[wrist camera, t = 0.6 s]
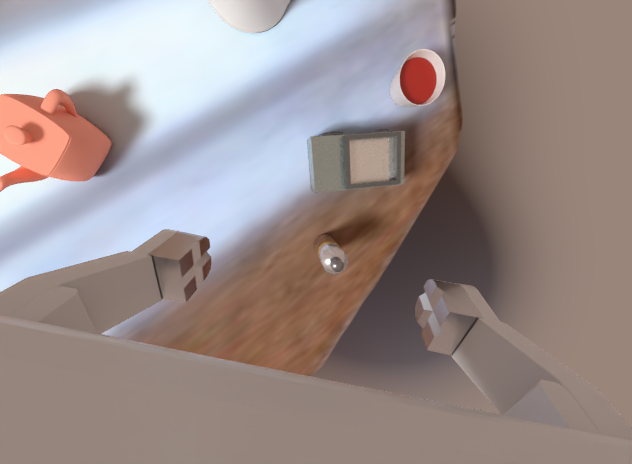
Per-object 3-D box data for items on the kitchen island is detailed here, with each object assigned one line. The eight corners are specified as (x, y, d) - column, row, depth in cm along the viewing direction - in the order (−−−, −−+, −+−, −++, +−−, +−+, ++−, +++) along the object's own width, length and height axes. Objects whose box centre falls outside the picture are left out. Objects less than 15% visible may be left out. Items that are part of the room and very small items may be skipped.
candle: (424, 61, 48) (445, 46, 42) (425, 110, 50) (445, 102, 44) (382, 66, 47) (397, 51, 41) (385, 116, 50) (400, 108, 43)
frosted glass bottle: (312, 235, 54) (323, 255, 41) (333, 232, 54) (350, 251, 42) (314, 255, 55) (325, 280, 42) (335, 252, 55) (351, 276, 43)
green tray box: (306, 137, 48) (312, 131, 41) (390, 131, 50) (410, 125, 43) (311, 190, 51) (316, 193, 43) (390, 182, 53) (408, 184, 46)
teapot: (130, 125, 43) (86, 112, 33) (83, 206, 45) (28, 217, 35) (62, 80, 40) (-10, 50, 30) (14, 169, 42) (-68, 168, 32)
